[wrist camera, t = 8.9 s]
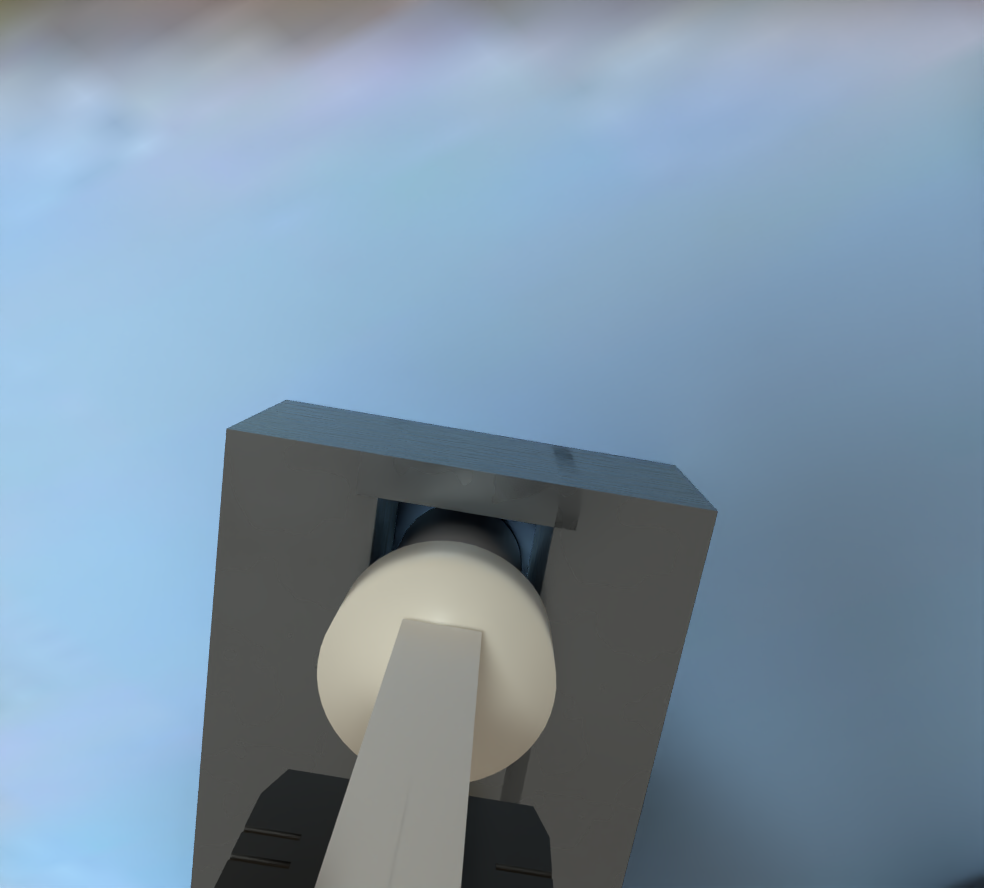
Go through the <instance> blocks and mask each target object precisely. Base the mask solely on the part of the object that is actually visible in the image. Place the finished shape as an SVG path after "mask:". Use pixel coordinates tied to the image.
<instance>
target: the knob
mask: <svg viewBox="0 0 984 888" xmlns="http://www.w3.org/2000/svg"><path fill="white" fill-rule="evenodd" d="M402 619H407V620H413V621H419V622H425V623H431V624H437V625H444V626H450V627H456V628H462V629H468V630H474V631H480V632H482V638H481V650H480V662H479V674H478V686H477V698H476V710H475V722H474V735H473V747H472V759H471V771H470V782H472V781H476V780H480V779H482V778H485V777H488V776H490V775H493V774H495V773H497V772H499V771H501V770H503V769H504V768H506V767H508V766H509V765H511V764H512V763H513V762H515V761H516V760H518V759H519V758H520V757H521V756H522V755H523V754H524V753H526V752H527V751H528V750H529V748H530V747H531V746H532V745H533V744H534V743H535V741H536V740H537V739H538V737H539V736H540V734H541V733H542V731H543V730H544V728H545V726H546V724H547V721H548V719H549V717H550V715H551V711H552V708H553V704H554V700H555V693H556V669H555V660H554V652H553V643H552V634H551V628H550V622H549V618H548V615H547V612H546V608H545V606H544V604H543V602H542V600H541V598H540V596H539V594H538V593H537V591H536V590H535V588H534V587H533V585H532V584H531V583H530V582H529V580H528V579H527V578H526V577H525V576H524V575H523V574H522V573H521V557H520V551H519V547H518V544H517V542H516V539H515V537H514V535H513V534H512V532H511V531H510V529H509V528H508V527H507V526H506V524H505V523H504V522H503V521H502V520H500V519H499V518H496V517H490V516H484V515H478V514H472V513H466V512H460V511H454V510H448V509H442V508H434V509H431V510H429V511H427V512H426V513H424V514H422V515H421V516H420V517H418V518H417V519H416V520H415V521H414V522H413V523H412V524H411V525H410V527H409V528H408V529H407V531H406V532H405V534H404V536H403V538H402V540H401V543H400V545H399V547H398V549H397V550H394V551H392V552H390V553H388V554H386V555H385V556H383V557H381V558H380V559H378V560H377V561H375V562H374V563H373V564H372V565H370V566H369V567H368V568H367V569H366V570H365V571H364V572H363V573H362V574H361V575H360V576H359V577H358V578H357V580H356V581H355V582H354V584H353V585H352V587H351V588H350V590H349V592H348V593H347V595H346V597H345V599H344V601H343V603H342V604H341V606H340V608H339V610H338V612H337V614H336V616H335V617H334V619H333V621H332V623H331V625H330V627H329V629H328V631H327V632H326V634H325V637H324V640H323V642H322V645H321V648H320V653H319V658H318V665H317V682H318V691H319V695H320V699H321V703H322V706H323V709H324V711H325V714H326V716H327V718H328V720H329V722H330V724H331V725H332V727H333V729H334V730H335V732H336V733H337V734H338V736H339V737H340V738H341V740H342V741H343V742H344V743H345V744H346V745H347V746H348V747H349V748H350V749H351V750H352V751H353V752H354V753H355V754H356V755H357V756H358V754H359V751H360V747H361V744H362V741H363V738H364V735H365V732H366V729H367V726H368V723H369V720H370V717H371V714H372V711H373V708H374V705H375V702H376V699H377V696H378V693H379V690H380V686H381V683H382V680H383V677H384V674H385V671H386V668H387V665H388V662H389V659H390V656H391V653H392V650H393V647H394V644H395V641H396V638H397V635H398V632H399V629H400V626H401V622H402Z"/></svg>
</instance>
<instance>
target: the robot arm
mask: <svg viewBox="0 0 984 888" xmlns="http://www.w3.org/2000/svg"><path fill="white" fill-rule="evenodd" d="M481 638H482V632H480V631H474V630H468V629H462V628H456V627H450V626H444V625H437V624H431V623H425V622H419V621H413V620H407V619H402V622H401V626H400V629H399V632H398V635H397V638H396V641H395V644H394V647H393V650H392V653H391V656H390V659H389V662H388V665H387V668H386V671H385V674H384V677H383V680H382V683H381V686H380V690H379V693H378V696H377V699H376V702H375V705H374V708H373V711H372V714H371V717H370V720H369V723H368V726H367V729H366V732H365V735H364V738H363V741H362V744H361V747H360V751H359V754H358V757H357V760H356V763H355V766H354V769H353V772H352V775H351V778H350V779H347V778H341V777H335V776H329V775H323V774H316V773H310V772H304V771H298V770H292V769H288V770H287V771H286V772H285V773H283V774H282V775H281V776H280V777H279V778H278V779H277V780H275V781H274V782H273V783H272V784H271V785H270V786H269V787H268V788H266V789H265V790H264V791H263V792H262V793H261V794H260V796H259V798H258V800H257V802H256V804H255V806H254V808H253V810H252V812H251V814H250V816H249V818H248V820H247V822H246V824H245V828H244V831H243V832H241V834H240V836H239V838H238V840H237V842H236V844H235V846H234V848H233V850H232V853H231V857H230V859H229V860H228V861H227V863H226V865H225V867H224V869H223V871H222V873H221V875H220V877H219V879H218V881H217V883H216V885H215V887H214V888H553V879H552V862H551V848H550V837H549V835H548V833H547V831H546V829H545V827H544V826H543V824H542V822H541V820H540V818H539V816H538V814H537V812H536V810H535V808H534V807H533V806H529V805H523V804H517V803H511V802H505V801H498V800H492V799H486V798H480V797H474V796H468V795H469V783H470V771H471V759H472V747H473V735H474V722H475V710H476V698H477V686H478V674H479V662H480V650H481Z"/></svg>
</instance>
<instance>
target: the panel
mask: <svg viewBox="0 0 984 888" xmlns="http://www.w3.org/2000/svg"><path fill="white" fill-rule="evenodd" d="M399 501H400V502H406V503H412V504H418V505H424V506H430V507H436V508H442V509H448V510H454V511H460V512H466V513H472V514H478V515H484V516H490V517H496V518H502V519H508V520H514V521H520V522H525V523H531V524H536V529H535V534H534V540H533V545H532V550H531V555H530V560H529V566H528V571H527V576H526V578H527V579H528V580H529V582H530V583H531V584H532V585H533V587H534V588H535V590H536V591H537V593H538V594H539V596H540V598H541V600H542V602H543V604H544V606H545V608H546V612H547V615H548V618H549V622H550V628H551V634H552V643H553V652H554V660H555V669H556V693H555V700H554V704H553V708H552V711H551V715H550V717H549V719H548V721H547V724H546V726H545V728H544V730H543V731H542V733H541V734H540V736H539V737H538V739H537V740H536V741H535V743H534V744H533V745H532V746H531V747H530V748H529V750H528V751H527V752H526V753H524V754H523V755H522V756H521V757H520V758H519V759H518V760H516V761H515V762H513V763H512V764H511V765H509V766H508V767H506V768H504V769H503V770H501V771H499V772H497V773H495V774H493V775H490V776H488V777H485V778H482V779H480V780H476V781H472V782H470V783H469V795H468V796H474V797H480V798H486V799H492V800H498V801H505V802H511V803H517V804H523V805H529V806H533V807H534V808H535V810H536V812H537V814H538V816H539V818H540V820H541V822H542V824H543V826H544V827H545V829H546V831H547V833H548V835H549V837H550V848H551V862H552V879H553V888H622V884H623V880H624V877H625V873H626V869H627V865H628V861H629V857H630V853H631V849H632V845H633V841H634V837H635V833H636V830H637V826H638V822H639V818H640V814H641V810H642V806H643V802H644V798H645V794H646V790H647V787H648V783H649V779H650V775H651V771H652V767H653V763H654V759H655V755H656V751H657V747H658V743H659V740H660V736H661V732H662V728H663V724H664V720H665V716H666V712H667V708H668V704H669V700H670V697H671V693H672V689H673V685H674V681H675V677H676V673H677V669H678V665H679V661H680V657H681V653H682V650H683V646H684V642H685V638H686V634H687V630H688V626H689V622H690V618H691V614H692V610H693V607H694V603H695V599H696V595H697V591H698V587H699V583H700V579H701V575H702V571H703V567H704V563H705V560H706V556H707V552H708V548H709V544H710V540H711V536H712V532H713V528H714V524H715V520H716V517H717V513H718V511H717V510H716V509H715V508H714V507H713V506H712V504H711V503H710V502H709V501H708V500H707V499H706V498H705V497H704V496H703V495H702V494H701V493H700V492H699V491H698V490H697V488H696V487H695V486H694V485H693V484H692V483H691V482H690V481H689V480H688V479H687V478H686V477H685V476H684V475H683V474H682V472H681V471H680V470H679V469H678V468H677V467H676V466H675V465H670V464H664V463H658V462H652V461H646V460H640V459H634V458H628V457H622V456H616V455H610V454H604V453H598V452H592V451H587V450H581V449H575V448H569V447H563V446H557V445H551V444H545V443H539V442H533V441H527V440H521V439H515V438H509V437H504V436H498V435H492V434H486V433H480V432H474V431H468V430H462V429H456V428H450V427H444V426H438V425H432V424H426V423H421V422H415V421H409V420H403V419H397V418H391V417H385V416H379V415H373V414H367V413H361V412H355V411H349V410H343V409H337V408H332V407H326V406H320V405H314V404H308V403H302V402H296V401H290V400H285V401H283V402H281V403H279V404H277V405H275V406H272V407H270V408H268V409H266V410H264V411H262V412H260V413H258V414H256V415H254V416H252V417H250V418H248V419H246V420H244V421H241V422H239V423H237V424H235V425H233V426H231V427H229V428H227V430H226V443H225V456H224V469H223V482H222V495H221V507H220V520H219V533H218V546H217V559H216V572H215V585H214V597H213V610H212V623H211V636H210V649H209V662H208V675H207V688H206V700H205V713H204V726H203V739H202V752H201V765H200V778H199V791H198V803H197V816H196V829H195V842H194V855H193V868H192V881H191V888H214V887H215V885H216V883H217V881H218V879H219V877H220V875H221V873H222V871H223V869H224V867H225V865H226V863H227V861H228V860H229V859H230V857H231V853H232V850H233V848H234V846H235V844H236V842H237V840H238V838H239V836H240V834H241V832H243V831H244V828H245V824H246V822H247V820H248V818H249V816H250V814H251V812H252V810H253V808H254V806H255V804H256V802H257V800H258V798H259V796H260V794H261V793H262V792H263V791H264V790H265V789H266V788H268V787H269V786H270V785H271V784H272V783H273V782H274V781H275V780H277V779H278V778H279V777H280V776H281V775H282V774H283V773H285V772H286V771H287V770H288V769H292V770H298V771H304V772H310V773H316V774H323V775H329V776H335V777H341V778H347V779H350V778H351V775H352V772H353V769H354V766H355V763H356V760H357V757H358V756H357V755H356V754H355V753H354V752H353V751H352V750H351V749H350V748H349V747H348V746H347V745H346V744H345V743H344V742H343V741H342V740H341V738H340V737H339V736H338V734H337V733H336V732H335V730H334V729H333V727H332V725H331V724H330V722H329V720H328V718H327V716H326V714H325V711H324V709H323V706H322V703H321V699H320V695H319V691H318V682H317V665H318V658H319V653H320V648H321V645H322V642H323V640H324V637H325V634H326V632H327V631H328V629H329V627H330V625H331V623H332V621H333V619H334V617H335V616H336V614H337V612H338V610H339V608H340V606H341V604H342V603H343V601H344V599H345V597H346V595H347V593H348V592H349V590H350V588H351V587H352V585H353V584H354V582H355V581H356V580H357V578H358V577H359V576H360V575H361V574H362V573H363V572H364V571H365V570H366V569H367V568H368V567H369V566H370V565H372V564H373V563H374V562H375V561H377V560H378V559H380V558H381V557H383V556H385V555H386V554H388V553H390V552H392V547H393V540H394V533H395V526H396V519H397V512H398V505H399Z"/></svg>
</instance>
